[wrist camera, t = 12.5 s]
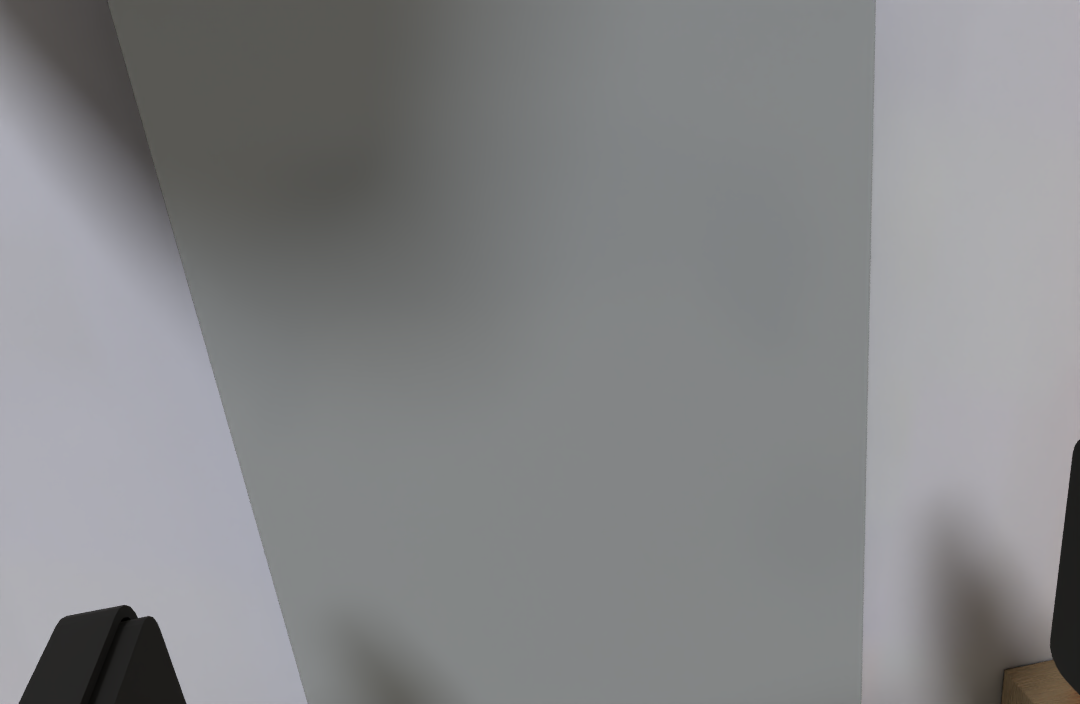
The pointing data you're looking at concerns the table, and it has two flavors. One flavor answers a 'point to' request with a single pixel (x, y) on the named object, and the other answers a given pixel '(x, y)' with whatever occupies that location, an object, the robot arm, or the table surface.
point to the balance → (1037, 685)
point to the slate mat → (535, 332)
